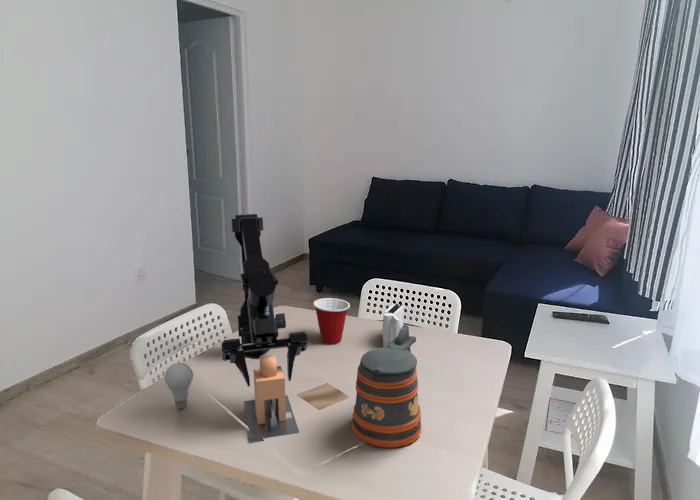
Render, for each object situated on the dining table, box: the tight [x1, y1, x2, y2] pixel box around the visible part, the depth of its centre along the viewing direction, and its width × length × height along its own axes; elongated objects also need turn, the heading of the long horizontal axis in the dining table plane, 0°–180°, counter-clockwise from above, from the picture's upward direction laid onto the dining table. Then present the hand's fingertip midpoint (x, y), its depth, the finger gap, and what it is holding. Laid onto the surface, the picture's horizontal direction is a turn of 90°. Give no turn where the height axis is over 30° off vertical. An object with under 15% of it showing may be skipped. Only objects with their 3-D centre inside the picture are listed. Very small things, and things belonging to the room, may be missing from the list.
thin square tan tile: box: [297, 382, 351, 411], centre depth 125 cm, size 9×9×1 cm
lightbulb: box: [164, 362, 194, 410], centre depth 119 cm, size 6×6×11 cm
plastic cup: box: [313, 297, 351, 345], centre depth 156 cm, size 11×11×12 cm
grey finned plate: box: [244, 394, 300, 443], centre depth 115 cm, size 16×10×5 cm, turn 15°
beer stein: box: [351, 324, 422, 449], centre depth 112 cm, size 19×15×20 cm
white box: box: [382, 303, 405, 348], centre depth 154 cm, size 14×5×10 cm, turn 168°
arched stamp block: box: [252, 354, 286, 425], centre depth 114 cm, size 6×6×14 cm
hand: (269, 383), depth 113 cm, fingers open, 8 cm apart
